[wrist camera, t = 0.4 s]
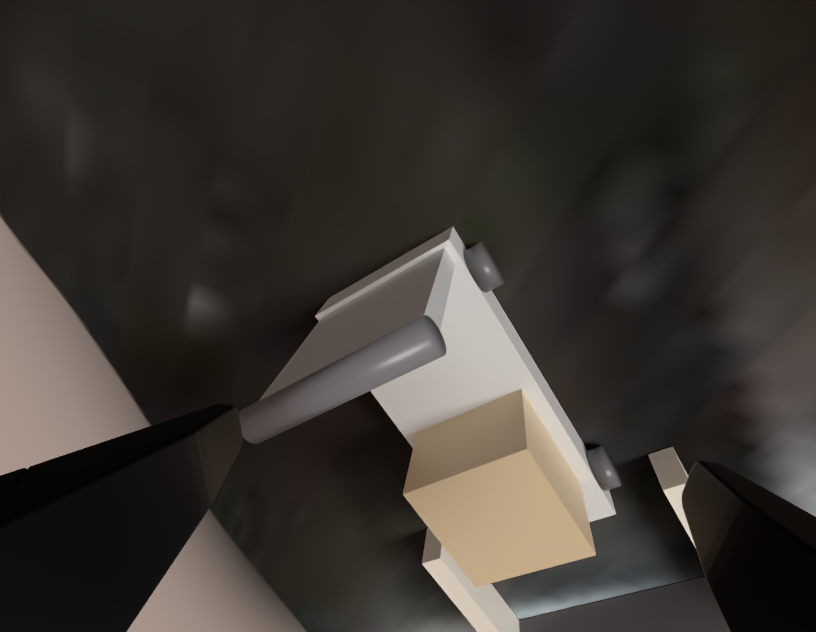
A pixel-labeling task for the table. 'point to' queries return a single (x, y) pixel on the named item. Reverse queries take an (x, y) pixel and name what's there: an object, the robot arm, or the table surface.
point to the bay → (601, 621)
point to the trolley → (453, 410)
